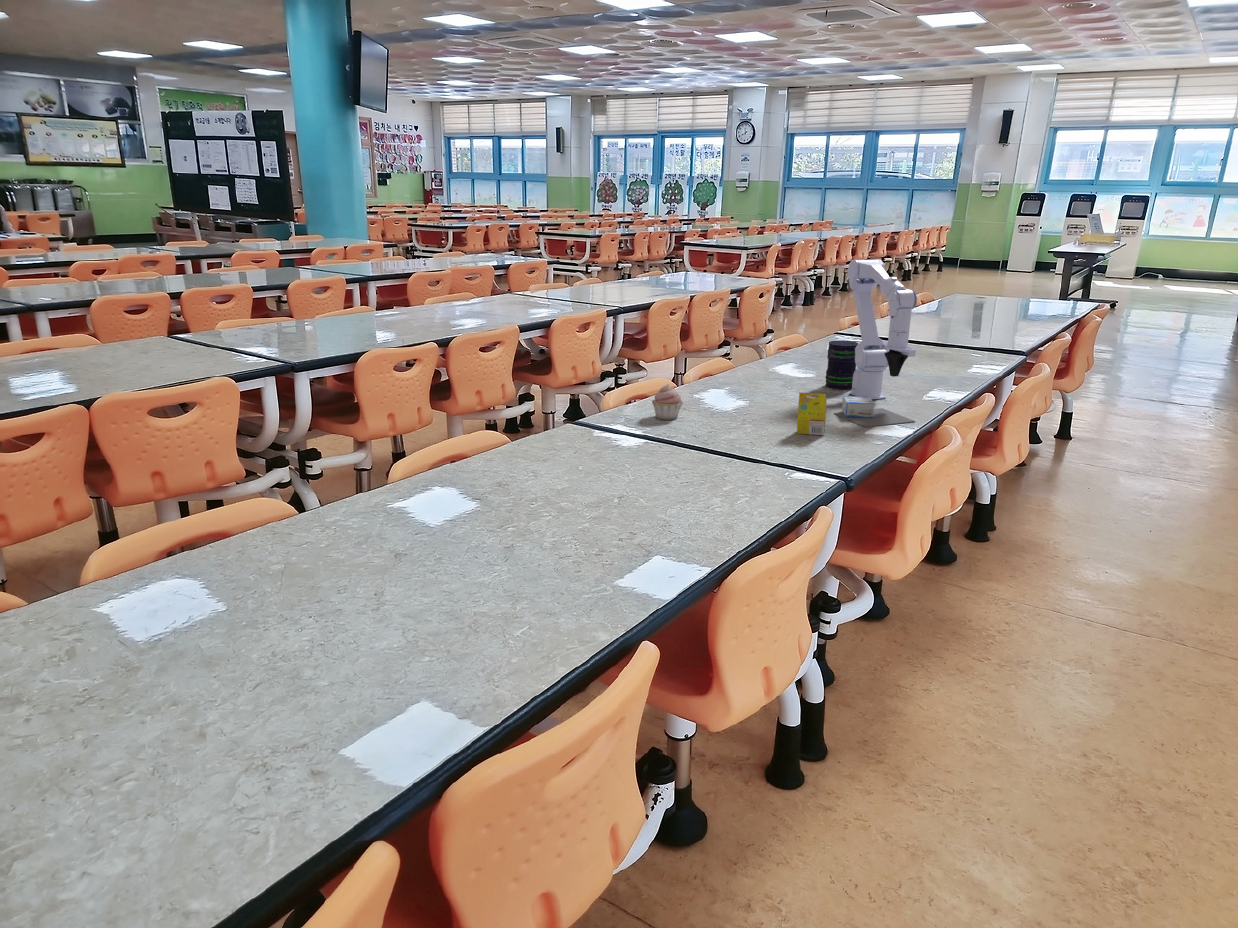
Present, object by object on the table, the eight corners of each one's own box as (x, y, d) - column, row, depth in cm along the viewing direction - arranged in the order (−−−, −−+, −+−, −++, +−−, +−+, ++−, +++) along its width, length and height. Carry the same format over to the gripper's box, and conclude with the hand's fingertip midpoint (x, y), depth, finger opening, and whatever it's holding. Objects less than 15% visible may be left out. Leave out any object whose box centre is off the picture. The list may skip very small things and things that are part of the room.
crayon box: (824, 433, 228) (827, 391, 225) (824, 435, 226) (827, 394, 222) (797, 430, 230) (800, 389, 227) (796, 433, 228) (799, 392, 224)
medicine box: (869, 396, 248) (875, 403, 240) (868, 410, 250) (873, 418, 242) (842, 395, 249) (847, 402, 241) (841, 410, 251) (845, 417, 242)
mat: (833, 413, 247) (833, 412, 247) (882, 409, 253) (882, 408, 253) (864, 427, 234) (864, 426, 233) (915, 422, 239) (915, 421, 239)
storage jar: (824, 389, 277) (828, 344, 272) (824, 382, 286) (828, 339, 281) (855, 391, 275) (859, 346, 270) (854, 384, 284) (858, 341, 279)
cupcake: (680, 422, 238) (681, 388, 235) (648, 420, 240) (649, 387, 237) (685, 414, 247) (685, 381, 244) (653, 412, 249) (654, 380, 246)
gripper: (872, 328, 252) (868, 372, 256) (903, 335, 239) (898, 382, 243) (892, 326, 254) (887, 370, 258) (923, 334, 241) (918, 380, 245)
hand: (894, 376), depth 251 cm, fingers closed
